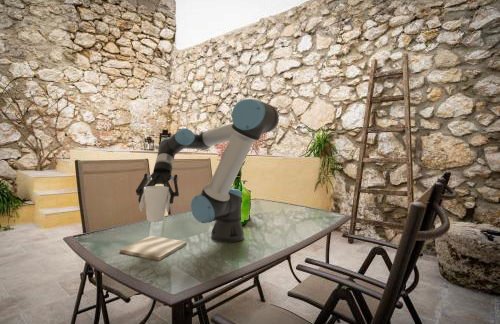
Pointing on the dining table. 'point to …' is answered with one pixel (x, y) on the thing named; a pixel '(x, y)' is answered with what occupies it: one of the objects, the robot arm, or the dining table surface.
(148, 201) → the foam cup
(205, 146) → the robot arm
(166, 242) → the ash board
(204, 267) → the dining table surface
